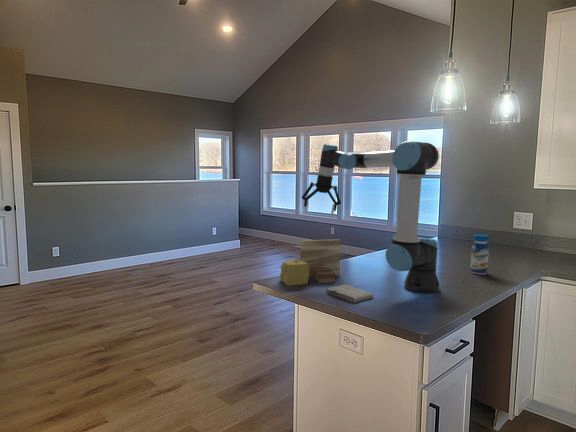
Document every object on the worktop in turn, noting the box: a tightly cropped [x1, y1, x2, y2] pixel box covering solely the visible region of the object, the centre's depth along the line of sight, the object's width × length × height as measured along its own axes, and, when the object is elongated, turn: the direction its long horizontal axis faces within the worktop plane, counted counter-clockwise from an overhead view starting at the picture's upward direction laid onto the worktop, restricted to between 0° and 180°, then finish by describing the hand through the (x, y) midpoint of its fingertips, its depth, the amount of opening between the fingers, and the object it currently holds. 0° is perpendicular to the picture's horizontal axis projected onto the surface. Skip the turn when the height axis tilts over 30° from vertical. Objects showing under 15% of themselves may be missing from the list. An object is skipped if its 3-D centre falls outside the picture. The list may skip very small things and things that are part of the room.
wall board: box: [299, 239, 341, 284], centre depth 204 cm, size 16×20×18 cm
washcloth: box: [325, 284, 374, 304], centre depth 177 cm, size 12×18×3 cm, turn 38°
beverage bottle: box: [469, 233, 490, 275], centre depth 217 cm, size 8×8×20 cm
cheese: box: [279, 258, 310, 287], centre depth 196 cm, size 10×11×10 cm
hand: (318, 214), depth 218 cm, fingers open, 13 cm apart
